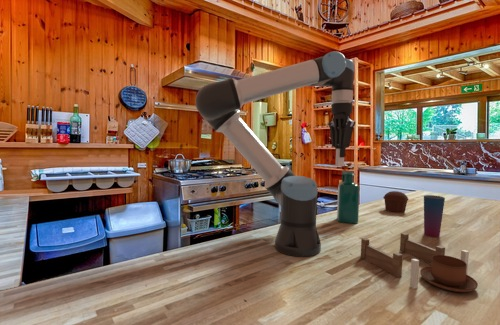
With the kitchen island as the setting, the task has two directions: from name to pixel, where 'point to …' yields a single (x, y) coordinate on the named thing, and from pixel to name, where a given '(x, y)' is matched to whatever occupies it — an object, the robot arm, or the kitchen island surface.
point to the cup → (433, 215)
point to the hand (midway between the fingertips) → (339, 165)
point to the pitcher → (348, 199)
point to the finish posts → (416, 268)
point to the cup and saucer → (449, 274)
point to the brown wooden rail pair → (398, 254)
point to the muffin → (395, 201)
